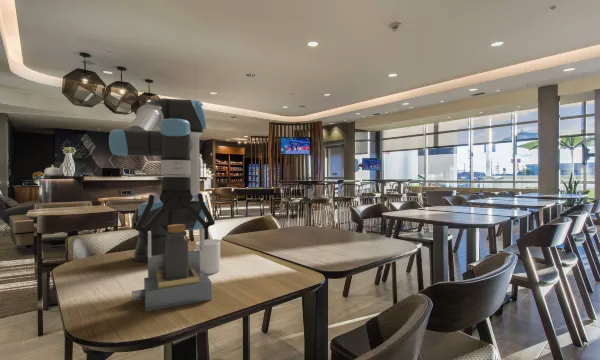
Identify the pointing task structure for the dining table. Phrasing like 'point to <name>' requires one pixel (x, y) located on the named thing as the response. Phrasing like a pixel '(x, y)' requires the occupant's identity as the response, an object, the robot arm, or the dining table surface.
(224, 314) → the dining table surface
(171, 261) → the bottle
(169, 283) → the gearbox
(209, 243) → the mug
